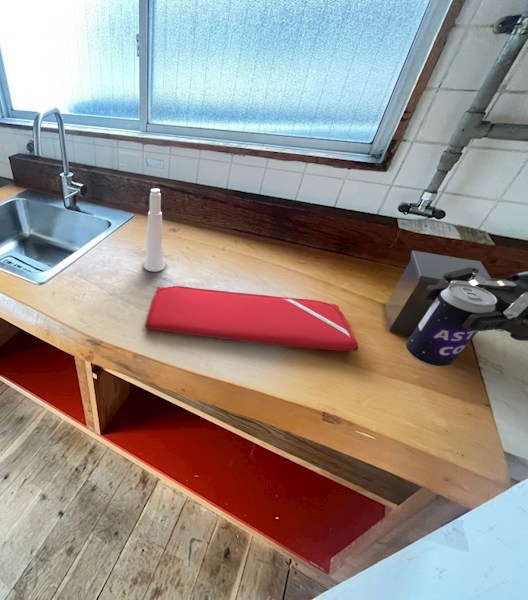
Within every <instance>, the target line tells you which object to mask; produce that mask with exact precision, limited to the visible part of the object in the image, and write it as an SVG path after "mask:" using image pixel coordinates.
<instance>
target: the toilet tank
mask: <svg viewBox="0 0 528 600" xmlns="http://www.w3.org/2000/svg"><path fill="white" fill-rule="evenodd" d="M409 255H410V260H409V262H408V264H407V265H406V267H405V269H404V271H403V273H401V276H400V277H399V279H398V281H397V283H396V285H395V287H394V288H393V290H392V292H391V293H390V295H389V297H388V299H387V300H386V302H385V304H384V305H385V306H384V307H385V313H386V320H387V328H388V331H389V332H392V333H397V334H399V335H400V334H401V335H403V336H404V335H405V336H408V337H411V335H412V334H413V332H414V331H415V329H416V328H417V326H418V325H419V323H420V322H421V320H422V319H423V317H424V316H425V314H426V313H427V311H428V310H429V308H430V307H431V305H432V304H433V302H434V301H425V300H424V299H423V298H422V296H423V293H424V292H425V290H426V289H427V287H428V286H430V285H437V284H438V283H439V282H440V280H441V278H442V277H443V275H444V274H445V273H449V272H453V271H457V270H461V269H465V268H469V267H473V268H476V269H478V270H479V272H478V273H477V274H476V275H478V276H480V277H483V278H485V279H489V278H491V276H490V275H489V273H488V271H487V270H486V268H485V266H484V265H483V263H482V262H481V261H479V260H475V259H474V260H473V259H468V258H460V257H456V256H450V255H442V254H436V253H430V252H424V251H419V250H411V252H410V254H409Z"/></svg>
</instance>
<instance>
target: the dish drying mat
mask: <svg viewBox="0 0 528 600" xmlns="http://www.w3.org/2000/svg"><path fill="white" fill-rule="evenodd" d="M145 329H149V330H155V331H156V330H157V331H164V332H171V333H177V334H186V335H193V336H200V337H211V338H217V339H226V340H234V341H243V342H252V343H259V344H266V345H267V344H268V345H275V346H283V347H285V346H286V347H295V348H303V349H304V348H306V349H316V350H325V351H326V350H329V351H342V352H343V351H345V352H346V351H347V352H351V351H354V352H356V351H358V350H359V345H358V341H357V339H356V338H355V335H354V333H353V330H352V328H351V326H350V323H349V322H348V320H347V318H346V317H345V315H344V313H343V312H342V311H341V309H340V307H339V305H338V304H335V303H329V302H325V301H322V300H317V299H316V300H315V299H309V298H298V297H297V298H295V297H287V296H274V295H265V294H255V293H246V292H234V291H226V290H216V289H206V288H196V287H191V286H190V287H189V286H182V285H172V286H165V287H164V286H157V287H156V291H155V295H154V296H153V298H152V300H151V303H150V307H149V310H148V314H147V318H146V322H145Z"/></svg>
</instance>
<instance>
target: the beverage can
mask: <svg viewBox="0 0 528 600" xmlns="http://www.w3.org/2000/svg"><path fill="white" fill-rule="evenodd" d="M496 303H497V298H496V297H495V296H494V295H493V294H492V293H490V292H488V291H486V290H484V289H482V288H479V287H476V286H473V285H468V284H458V283H457V284H451V285H450V286H448V288H447V289H445V290H443V291H441V292H440V293H439V295H438V296H437V298H436V299H435V301H434V302H433V304H432V305H431V307H430V308H429V310H428V311H427V313H426V314H425V316H424V317H423V319H422V320H421V322H420V323H419V325H418V326H417V328H416V329H415V331H414V332H413V334H412V335H411V336H409V338H408V340H407V341H406V343H405V347H406V349H407V352H409V354H410V356H411V358H413V359H414V360H416V361H417V362H418V363H421V364H422V365H423V364H424V365H426V366H428V367H429V366H430V367H447V366H451V365H452V364H453V363H454V361H455V360H456V359H457V358H458V357H459V356H460V354H461V353H462V352H463V351H464V349H465V348H466V347H467V346H468V345H469V344H470V342H471V341H472V340H473V339H474V338H475V336H476V335H477V333H478V332H479V331H475V330H467V329H465V328H464V327H462V325H463V323H464V322H465V321H466V320H467V318H468V317H469V316H470V315H472V314H478V313H486V312H495V304H496Z"/></svg>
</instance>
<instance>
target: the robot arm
mask: <svg viewBox="0 0 528 600" xmlns="http://www.w3.org/2000/svg"><path fill="white" fill-rule="evenodd" d="M478 272H479V270H478V269H476V268H473V267H469V268H465V269H461V270H457V271H453V272H449V273H445V274H444V275H443V277H442V278H441V280H440V282H439V283H438V284H437V285H430V286H428V287H427V289H426V290H425V292H424V293H423V296H422V298H423V299H424V300H425V301H435V299H436V298H437V296H438V295H439V293H440V292H441V291H443V290H445V289H447V288H448V286H450V285H451V284H457V283H458V284H468V285H473V286H476V287H479V288H482V289H484V290H486V291H488V292H490V293H492V294H493V295H494V296H495V297H496V298H497V303H496V304H495V312H486V313H478V314H472V315H470V316H469V317H468V318H467V320H466V321H465V322H464V323H463V325H462V327H464V328H465V329H467V330H475V331H478V332H484V331H486V332H487V331H494V330H495V331H496V332H497V331H498V332H508V333H510V334H509V337H511V338H512V339H514V340H516V341H519V342H521V341H524V342H528V270H525V271H521V272H517V273H515V274H512V275H510V276H507V277H505V278H495V277H490V278H489V279H485V278H483V277H480V276H478V275H476V274H477V273H478Z"/></svg>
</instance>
